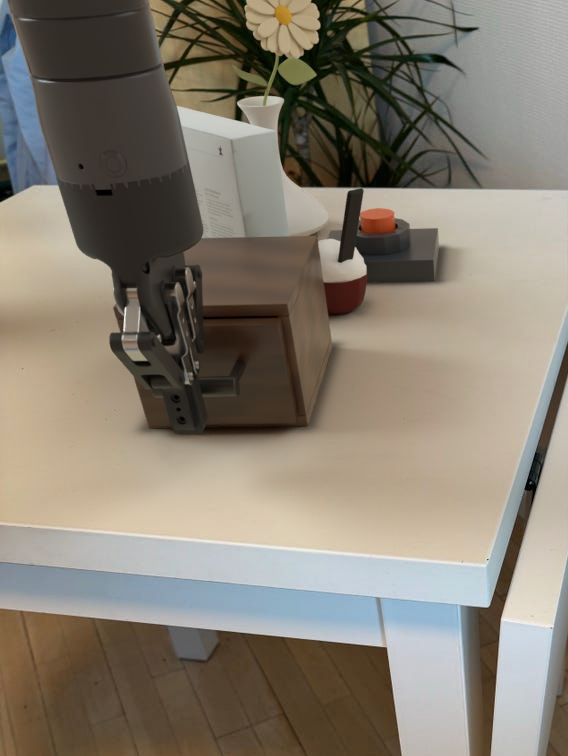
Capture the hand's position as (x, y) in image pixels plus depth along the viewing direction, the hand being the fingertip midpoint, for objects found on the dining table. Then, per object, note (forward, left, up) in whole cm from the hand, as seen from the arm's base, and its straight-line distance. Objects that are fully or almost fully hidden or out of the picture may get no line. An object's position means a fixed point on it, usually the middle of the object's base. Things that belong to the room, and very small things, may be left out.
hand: (191, 429), depth 64 cm
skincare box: (-7, +37, -4) cm, 38 cm away
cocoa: (+6, +31, -4) cm, 32 cm away
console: (+9, +43, -4) cm, 44 cm away
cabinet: (0, +15, -4) cm, 15 cm away
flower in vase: (-3, +54, -4) cm, 54 cm away
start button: (+9, +43, 0) cm, 44 cm away
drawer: (0, +11, -3) cm, 11 cm away
